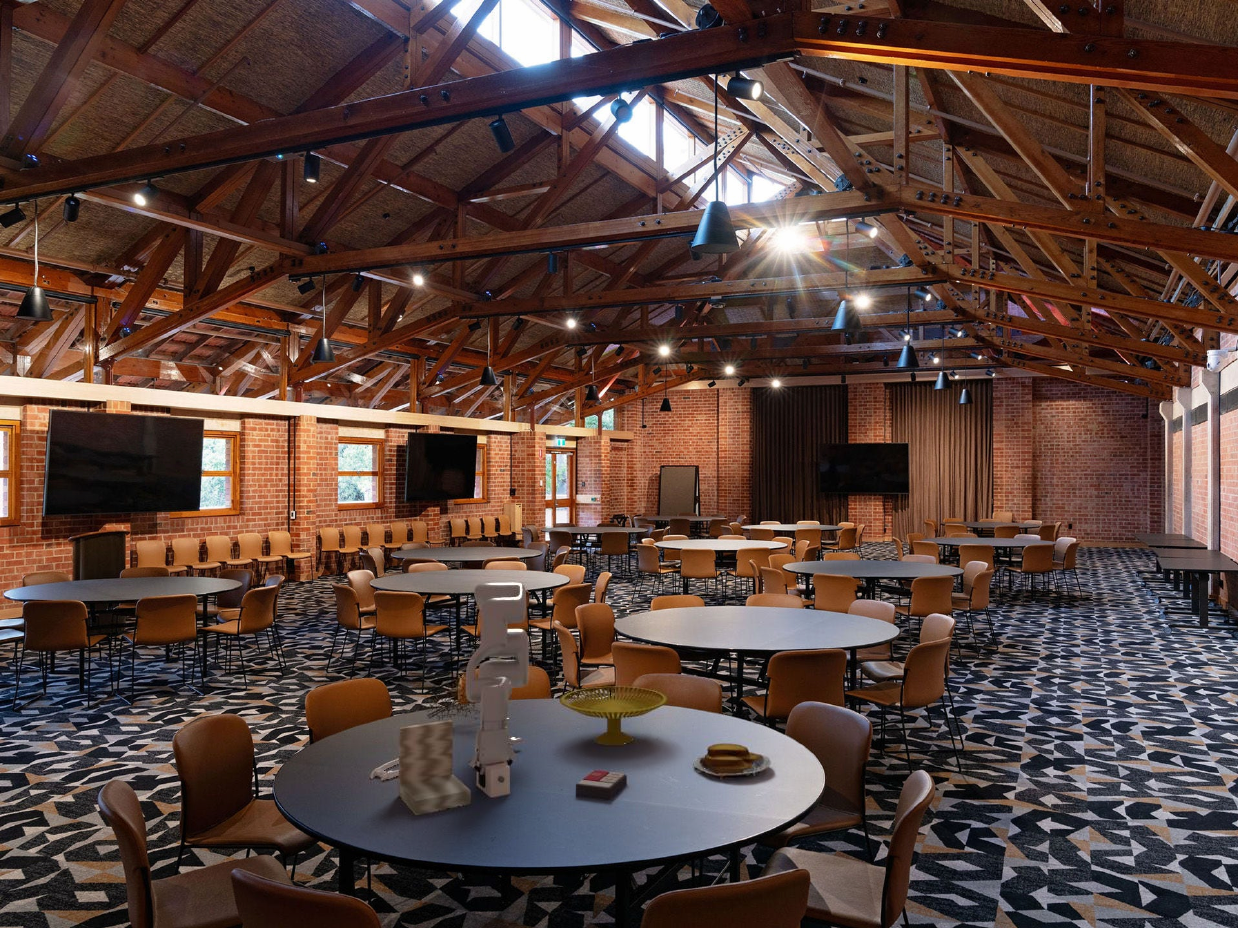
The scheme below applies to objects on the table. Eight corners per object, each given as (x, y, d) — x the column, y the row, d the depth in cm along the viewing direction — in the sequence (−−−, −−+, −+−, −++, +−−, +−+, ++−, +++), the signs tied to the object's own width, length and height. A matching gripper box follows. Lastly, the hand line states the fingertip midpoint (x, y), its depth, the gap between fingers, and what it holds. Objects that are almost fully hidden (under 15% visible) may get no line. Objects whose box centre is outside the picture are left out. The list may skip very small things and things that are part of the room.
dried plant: (402, 687, 303) (512, 636, 305) (424, 676, 334) (523, 630, 335) (434, 764, 299) (544, 712, 301) (452, 746, 330) (553, 699, 332)
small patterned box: (627, 772, 250) (609, 786, 236) (627, 786, 249) (609, 801, 235) (594, 768, 253) (575, 781, 239) (594, 782, 253) (575, 796, 239)
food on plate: (729, 788, 245) (728, 767, 245) (677, 767, 265) (677, 746, 266) (788, 772, 259) (787, 751, 260) (735, 752, 280) (734, 733, 280)
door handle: (440, 760, 274) (388, 783, 251) (417, 756, 278) (364, 778, 256) (440, 752, 274) (388, 774, 251) (417, 748, 278) (364, 770, 256)
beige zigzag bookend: (450, 785, 248) (450, 719, 249) (470, 804, 233) (470, 733, 234) (398, 795, 240) (399, 727, 241) (415, 815, 225) (416, 742, 226)
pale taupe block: (494, 781, 251) (494, 755, 252) (511, 794, 240) (511, 767, 240) (476, 785, 248) (476, 758, 249) (492, 798, 237) (492, 771, 237)
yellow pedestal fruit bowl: (644, 720, 321) (643, 682, 322) (687, 749, 283) (687, 705, 284) (546, 730, 307) (546, 690, 307) (578, 762, 269) (578, 717, 270)
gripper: (514, 717, 253) (514, 775, 252) (461, 725, 244) (461, 785, 244) (524, 723, 247) (524, 782, 246) (470, 731, 238) (470, 793, 237)
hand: (493, 783), depth 245 cm, fingers closed on pale taupe block, 6 cm apart
